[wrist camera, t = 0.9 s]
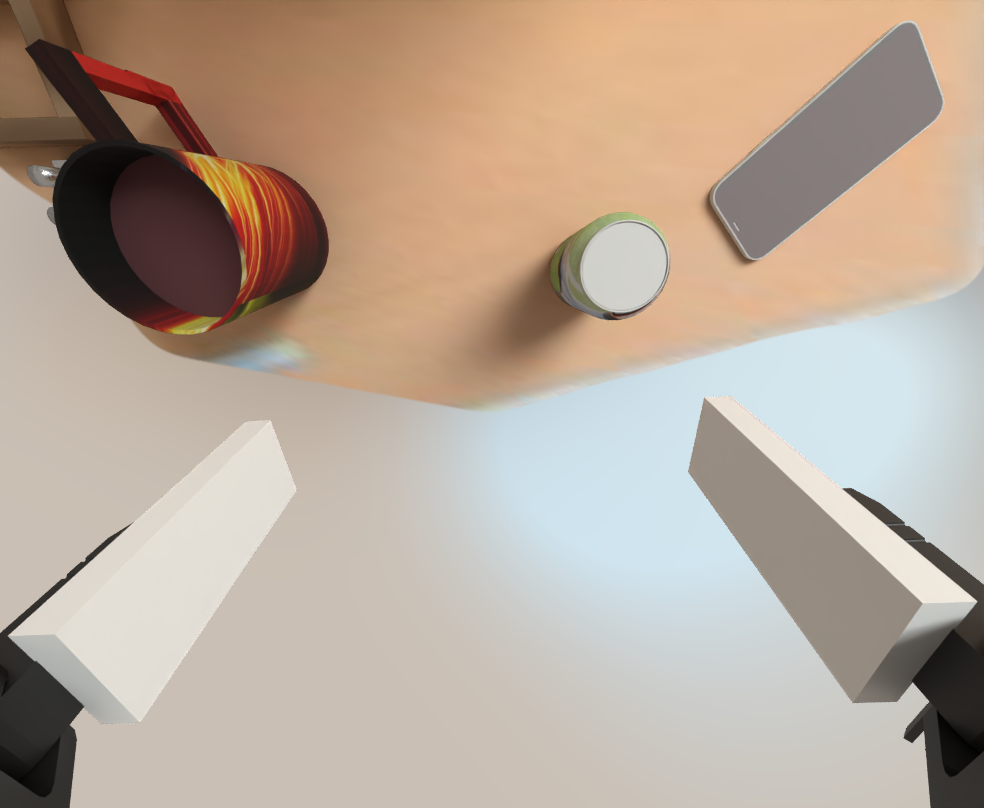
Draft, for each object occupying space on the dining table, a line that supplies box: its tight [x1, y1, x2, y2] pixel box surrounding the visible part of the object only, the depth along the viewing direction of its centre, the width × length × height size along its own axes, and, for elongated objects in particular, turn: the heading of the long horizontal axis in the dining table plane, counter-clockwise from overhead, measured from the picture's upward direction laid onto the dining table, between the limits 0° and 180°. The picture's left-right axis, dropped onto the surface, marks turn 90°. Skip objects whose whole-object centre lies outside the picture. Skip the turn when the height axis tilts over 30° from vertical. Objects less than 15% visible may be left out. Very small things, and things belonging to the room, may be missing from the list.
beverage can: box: [550, 212, 670, 320], centre depth 27 cm, size 6×7×12 cm
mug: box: [25, 39, 329, 334], centre depth 26 cm, size 10×14×12 cm
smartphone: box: [709, 21, 944, 260], centre depth 29 cm, size 7×1×15 cm
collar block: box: [0, 0, 97, 148], centre depth 26 cm, size 9×9×2 cm
